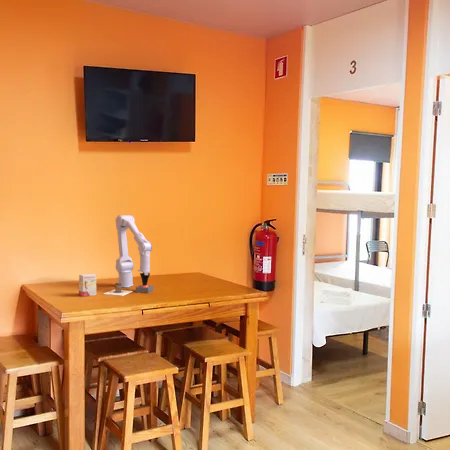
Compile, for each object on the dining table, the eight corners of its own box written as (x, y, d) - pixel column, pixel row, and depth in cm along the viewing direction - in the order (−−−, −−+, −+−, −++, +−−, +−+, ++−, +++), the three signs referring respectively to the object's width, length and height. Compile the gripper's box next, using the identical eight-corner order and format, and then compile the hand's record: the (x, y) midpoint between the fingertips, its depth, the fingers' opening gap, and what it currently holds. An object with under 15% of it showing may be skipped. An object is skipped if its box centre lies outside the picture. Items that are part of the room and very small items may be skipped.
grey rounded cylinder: (116, 291, 316) (116, 282, 316) (122, 291, 315) (122, 283, 315) (114, 292, 313) (114, 283, 312) (119, 292, 312) (119, 284, 311)
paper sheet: (114, 290, 322) (114, 289, 322) (133, 291, 319) (133, 290, 319) (103, 294, 309) (103, 293, 309) (122, 296, 306) (122, 295, 306)
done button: (142, 288, 323) (142, 284, 323) (149, 289, 322) (149, 284, 322) (139, 289, 319) (139, 285, 319) (146, 290, 318) (146, 286, 317)
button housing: (141, 289, 325) (141, 284, 325) (153, 290, 323) (153, 285, 323) (135, 292, 318) (135, 287, 317) (148, 293, 315) (148, 288, 315)
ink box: (82, 296, 301) (82, 275, 300) (78, 295, 305) (78, 274, 304) (96, 295, 307) (96, 274, 306) (92, 293, 311) (92, 273, 310)
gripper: (136, 260, 325) (136, 283, 326) (139, 264, 311) (139, 287, 312) (148, 260, 327) (148, 283, 328) (151, 264, 313) (151, 287, 314)
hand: (144, 285), depth 320 cm, fingers closed, pressing on done button
